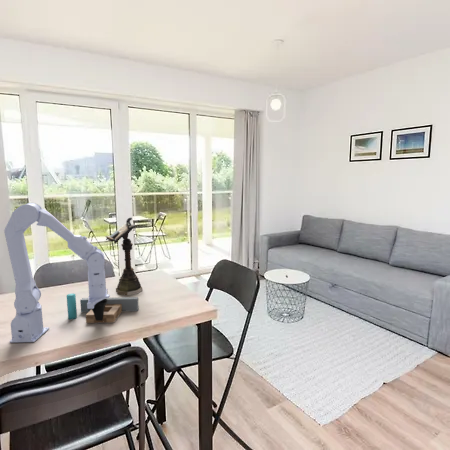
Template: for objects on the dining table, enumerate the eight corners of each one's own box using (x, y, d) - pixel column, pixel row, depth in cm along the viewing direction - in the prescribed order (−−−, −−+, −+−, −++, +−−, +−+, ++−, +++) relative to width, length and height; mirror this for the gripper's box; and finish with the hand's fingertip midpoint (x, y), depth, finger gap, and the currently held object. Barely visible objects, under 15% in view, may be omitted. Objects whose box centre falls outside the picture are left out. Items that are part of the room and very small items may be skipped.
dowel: (74, 319, 119) (73, 296, 118) (66, 319, 119) (65, 296, 118) (78, 316, 122) (76, 293, 121) (70, 316, 122) (68, 293, 121)
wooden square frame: (114, 322, 116) (113, 314, 116) (86, 322, 116) (85, 315, 115) (122, 311, 126) (121, 303, 126) (96, 311, 126) (95, 304, 125)
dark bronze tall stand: (110, 300, 138) (105, 219, 133) (102, 291, 148) (98, 217, 143) (147, 292, 147) (144, 217, 142) (137, 285, 158) (134, 214, 153)
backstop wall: (137, 311, 126) (136, 298, 126) (81, 312, 126) (80, 299, 125) (140, 306, 131) (139, 295, 130) (85, 307, 130) (84, 295, 129)
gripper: (101, 290, 106) (103, 329, 108) (114, 277, 121) (116, 311, 122) (79, 290, 106) (82, 329, 108) (95, 277, 120) (98, 312, 122)
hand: (99, 320), depth 115 cm, fingers closed
